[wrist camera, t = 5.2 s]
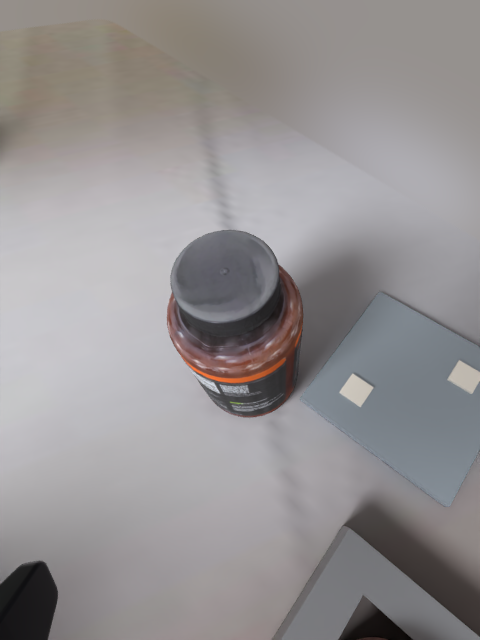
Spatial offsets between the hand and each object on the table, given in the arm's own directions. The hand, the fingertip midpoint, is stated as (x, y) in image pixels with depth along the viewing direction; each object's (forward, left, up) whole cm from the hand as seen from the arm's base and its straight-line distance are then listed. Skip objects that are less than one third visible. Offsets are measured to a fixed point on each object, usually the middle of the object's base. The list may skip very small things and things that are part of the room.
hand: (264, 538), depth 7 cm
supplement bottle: (+6, -5, -14) cm, 16 cm away
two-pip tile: (-2, -10, -13) cm, 17 cm away
